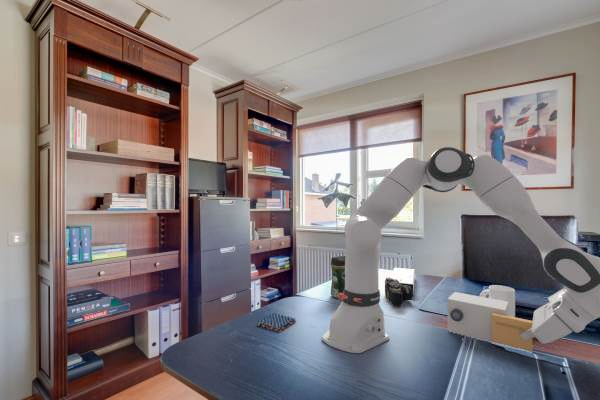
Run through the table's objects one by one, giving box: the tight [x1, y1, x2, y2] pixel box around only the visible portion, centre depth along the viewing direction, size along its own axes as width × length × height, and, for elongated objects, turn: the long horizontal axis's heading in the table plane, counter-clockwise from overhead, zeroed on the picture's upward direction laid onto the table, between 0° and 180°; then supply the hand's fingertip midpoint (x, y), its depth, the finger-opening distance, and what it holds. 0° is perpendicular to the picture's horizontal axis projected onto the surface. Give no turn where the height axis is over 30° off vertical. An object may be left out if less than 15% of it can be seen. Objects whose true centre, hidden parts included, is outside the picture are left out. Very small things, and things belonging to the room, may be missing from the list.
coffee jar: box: [330, 255, 346, 299], centre depth 135 cm, size 10×8×19 cm
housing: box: [446, 291, 509, 341], centre depth 96 cm, size 12×16×11 cm
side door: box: [492, 313, 533, 351], centre depth 85 cm, size 2×10×9 cm, turn 50°
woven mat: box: [257, 312, 297, 333], centre depth 104 cm, size 10×11×2 cm
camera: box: [384, 276, 413, 308], centre depth 128 cm, size 16×10×10 cm, turn 178°
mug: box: [479, 284, 516, 317], centre depth 110 cm, size 8×12×12 cm
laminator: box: [389, 267, 416, 297], centre depth 153 cm, size 34×12×6 cm, turn 158°
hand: (522, 335), depth 84 cm, fingers closed on side door, 2 cm apart
